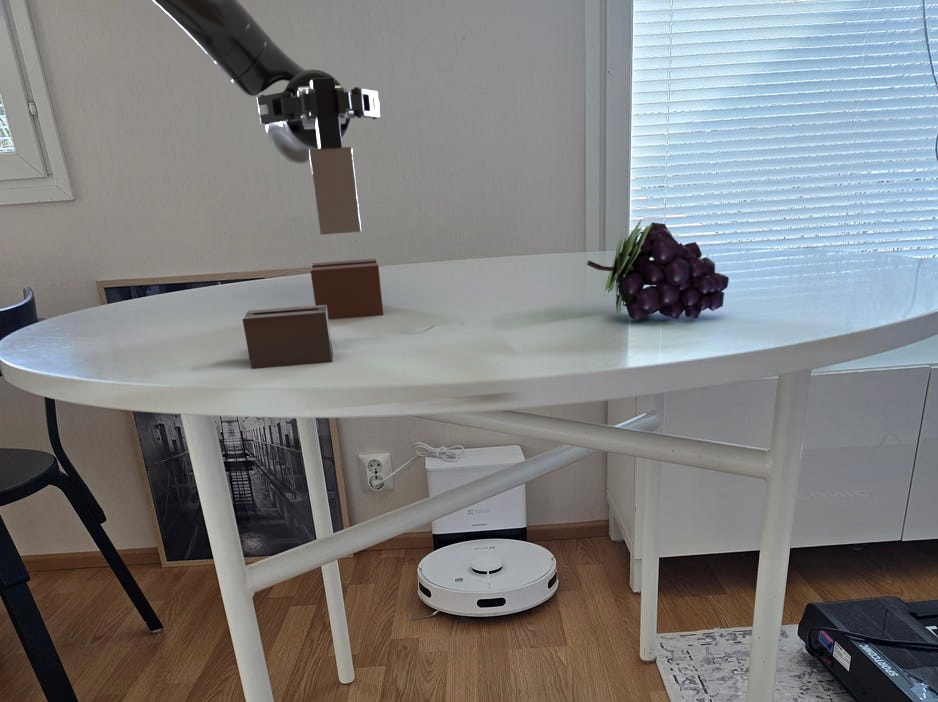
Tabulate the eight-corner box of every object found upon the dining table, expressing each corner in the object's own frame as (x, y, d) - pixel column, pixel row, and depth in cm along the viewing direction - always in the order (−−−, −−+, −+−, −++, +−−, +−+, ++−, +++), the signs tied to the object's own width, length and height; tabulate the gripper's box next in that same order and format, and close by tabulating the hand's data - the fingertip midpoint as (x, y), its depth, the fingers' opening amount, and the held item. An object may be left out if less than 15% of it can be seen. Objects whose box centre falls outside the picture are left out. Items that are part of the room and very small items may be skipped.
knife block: (333, 370, 77) (325, 312, 75) (252, 377, 76) (242, 318, 74) (333, 359, 82) (326, 304, 79) (257, 366, 81) (247, 310, 78)
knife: (361, 232, 91) (343, 76, 84) (320, 235, 91) (299, 79, 84) (360, 230, 94) (343, 79, 87) (320, 233, 94) (300, 82, 87)
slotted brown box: (389, 331, 94) (382, 265, 91) (316, 337, 93) (306, 270, 90) (385, 320, 101) (379, 258, 98) (318, 326, 101) (309, 263, 97)
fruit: (711, 353, 89) (572, 320, 90) (707, 319, 97) (580, 289, 98) (747, 252, 83) (597, 217, 83) (740, 224, 91) (603, 192, 91)
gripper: (246, 76, 96) (248, 58, 81) (369, 70, 98) (392, 52, 84) (259, 153, 99) (263, 148, 85) (376, 145, 102) (400, 140, 87)
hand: (327, 100), depth 84 cm, fingers closed on knife, 2 cm apart
